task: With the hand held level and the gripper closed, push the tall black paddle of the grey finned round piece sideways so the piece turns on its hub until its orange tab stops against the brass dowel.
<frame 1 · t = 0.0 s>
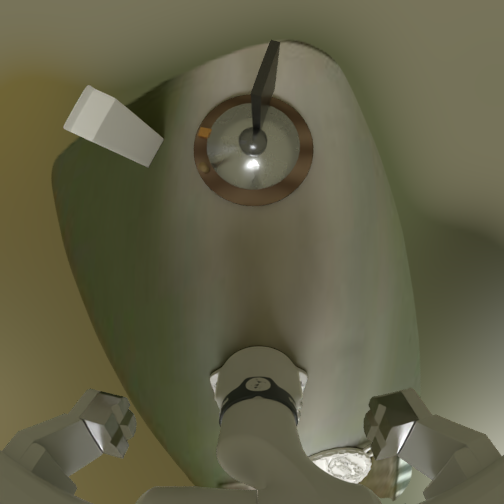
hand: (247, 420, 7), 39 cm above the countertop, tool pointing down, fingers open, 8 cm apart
milk: (144, 147, 45), on the countertop
post base: (253, 148, 44), on the countertop
grey finned round piece: (249, 118, 34), point 9 cm above the countertop, hinge at 0.0°
medallion: (334, 468, 52), on the countertop
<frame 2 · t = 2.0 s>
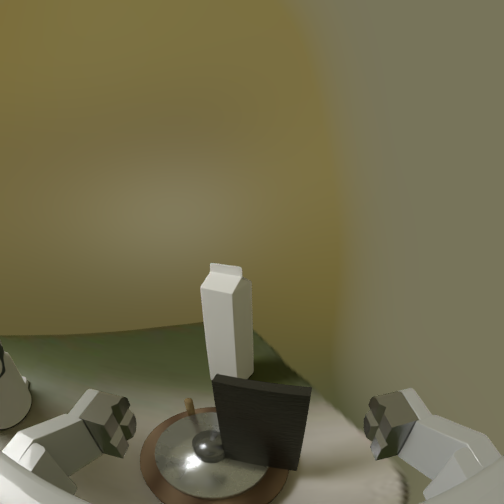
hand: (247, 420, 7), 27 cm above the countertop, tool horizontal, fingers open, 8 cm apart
milk: (232, 376, 47), on the countertop
post base: (214, 461, 28), on the countertop
grey finned round piece: (221, 420, 26), point 9 cm above the countertop, hinge at 0.0°
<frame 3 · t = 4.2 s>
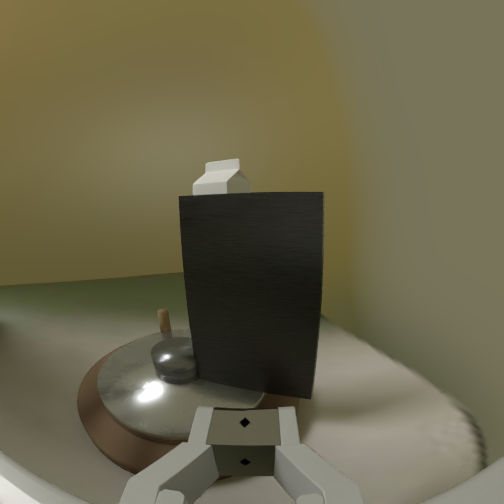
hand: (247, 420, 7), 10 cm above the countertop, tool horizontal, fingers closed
milk: (228, 310, 41), on the countertop
post base: (185, 394, 22), on the countertop
grey finned round piece: (194, 299, 20), point 9 cm above the countertop, hinge at 0.0°
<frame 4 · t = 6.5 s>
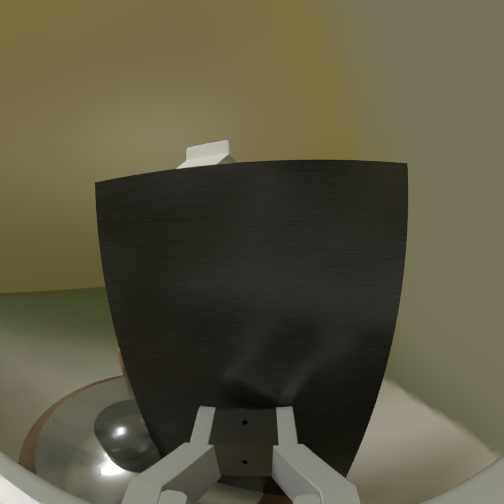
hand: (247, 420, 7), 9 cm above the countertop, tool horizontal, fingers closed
milk: (216, 335, 32), on the countertop
post base: (152, 469, 12), on the countertop
grey finned round piece: (143, 361, 11), point 9 cm above the countertop, hinge at 1.9°, touching gripper
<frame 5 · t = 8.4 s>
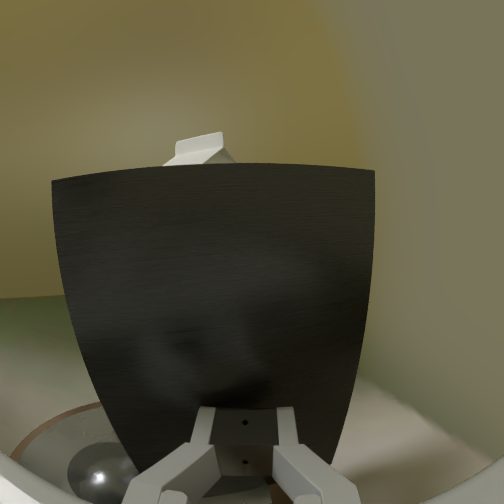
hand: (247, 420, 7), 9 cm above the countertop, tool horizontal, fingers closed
milk: (211, 351, 28), on the countertop
grey finned round piece: (109, 398, 8), point 9 cm above the countertop, hinge at 34.1°, touching gripper, post base
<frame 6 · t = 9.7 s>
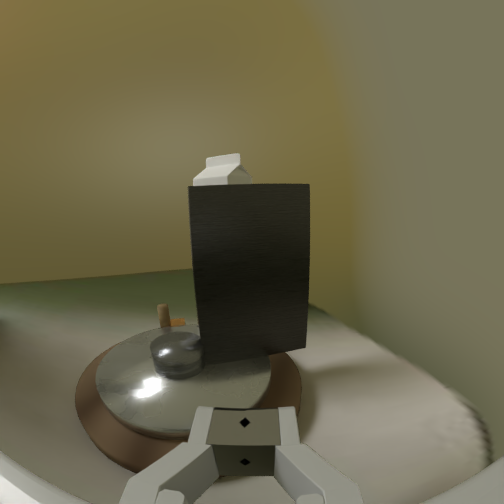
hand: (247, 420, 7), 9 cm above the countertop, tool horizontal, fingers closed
milk: (228, 306, 41), on the countertop
post base: (185, 390, 21), on the countertop
grey finned round piece: (191, 287, 21), point 9 cm above the countertop, hinge at 34.1°, touching post base
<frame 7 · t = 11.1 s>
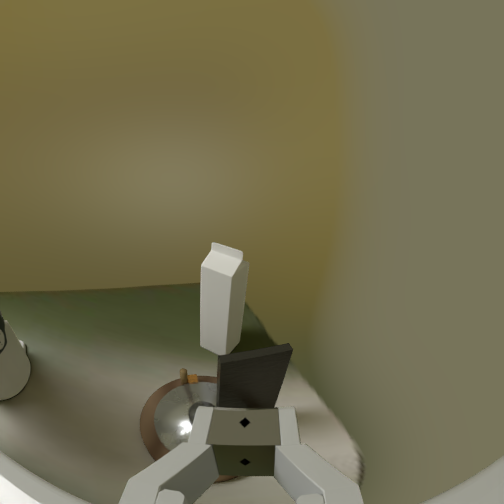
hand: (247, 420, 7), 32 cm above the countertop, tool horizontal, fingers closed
milk: (220, 344, 54), on the countertop
post base: (204, 427, 35), on the countertop
grey finned round piece: (214, 390, 33), point 9 cm above the countertop, hinge at 34.1°, touching post base
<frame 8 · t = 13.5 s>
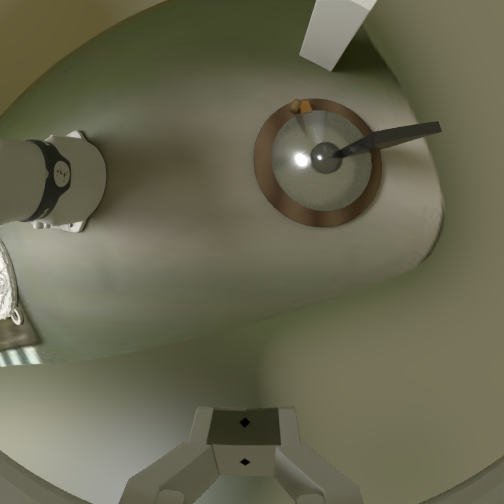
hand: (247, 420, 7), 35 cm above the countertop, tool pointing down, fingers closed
milk: (321, 53, 35), on the countertop
post base: (319, 161, 39), on the countertop
grey finned round piece: (347, 143, 30), point 9 cm above the countertop, hinge at 34.1°, touching post base
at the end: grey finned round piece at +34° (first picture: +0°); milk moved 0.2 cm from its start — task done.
